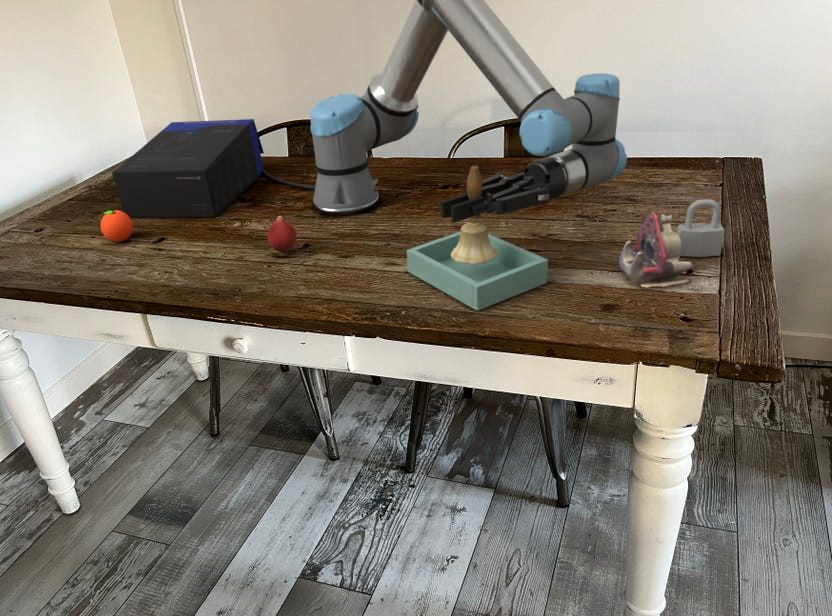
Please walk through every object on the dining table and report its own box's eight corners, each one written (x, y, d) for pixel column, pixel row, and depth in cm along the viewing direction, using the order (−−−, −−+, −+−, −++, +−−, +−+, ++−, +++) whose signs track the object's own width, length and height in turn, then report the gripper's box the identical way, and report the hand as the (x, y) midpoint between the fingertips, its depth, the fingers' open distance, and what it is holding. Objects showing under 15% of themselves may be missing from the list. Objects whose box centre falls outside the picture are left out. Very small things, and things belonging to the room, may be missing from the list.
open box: (407, 271, 139) (406, 250, 137) (473, 248, 145) (472, 226, 142) (477, 310, 123) (477, 287, 121) (547, 282, 129) (548, 259, 127)
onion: (277, 261, 149) (270, 224, 145) (266, 252, 153) (260, 216, 149) (303, 254, 151) (297, 216, 147) (292, 245, 155) (286, 208, 151)
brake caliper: (597, 252, 132) (644, 195, 127) (642, 280, 135) (689, 226, 130) (622, 280, 122) (673, 219, 117) (670, 309, 126) (721, 251, 121)
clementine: (95, 245, 167) (86, 215, 163) (113, 233, 172) (105, 204, 169) (124, 247, 164) (116, 217, 160) (142, 235, 170) (134, 205, 166)
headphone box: (267, 169, 203) (259, 115, 195) (215, 217, 174) (202, 157, 167) (186, 170, 209) (175, 118, 202) (123, 217, 181) (107, 159, 174)
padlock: (677, 257, 132) (685, 204, 127) (674, 248, 135) (681, 195, 130) (721, 257, 131) (730, 203, 125) (716, 248, 134) (725, 194, 129)
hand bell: (470, 242, 137) (468, 156, 128) (507, 252, 132) (508, 163, 123) (441, 258, 132) (437, 170, 124) (478, 269, 127) (477, 178, 119)
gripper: (582, 208, 130) (476, 246, 121) (523, 187, 142) (422, 220, 132) (585, 166, 126) (475, 202, 117) (524, 148, 138) (420, 180, 128)
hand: (447, 212), depth 125 cm, fingers closed on hand bell, 2 cm apart
